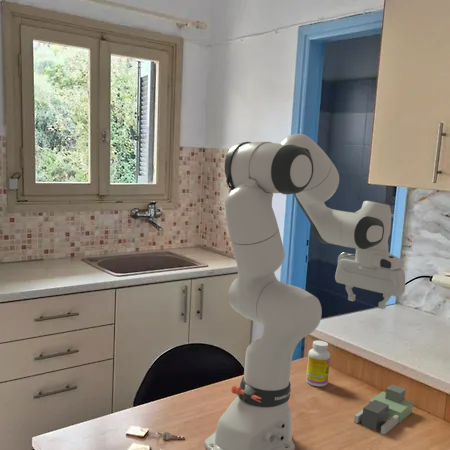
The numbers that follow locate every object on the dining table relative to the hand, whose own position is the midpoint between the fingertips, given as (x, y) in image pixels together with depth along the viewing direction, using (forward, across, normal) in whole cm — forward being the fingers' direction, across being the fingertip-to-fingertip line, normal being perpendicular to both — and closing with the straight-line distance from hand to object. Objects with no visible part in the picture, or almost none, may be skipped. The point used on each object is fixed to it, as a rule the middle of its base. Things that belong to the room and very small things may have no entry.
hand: (366, 304), depth 149 cm
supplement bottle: (+28, -13, -1) cm, 31 cm away
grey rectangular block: (+28, +11, -11) cm, 32 cm away
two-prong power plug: (+28, +11, -6) cm, 31 cm away
